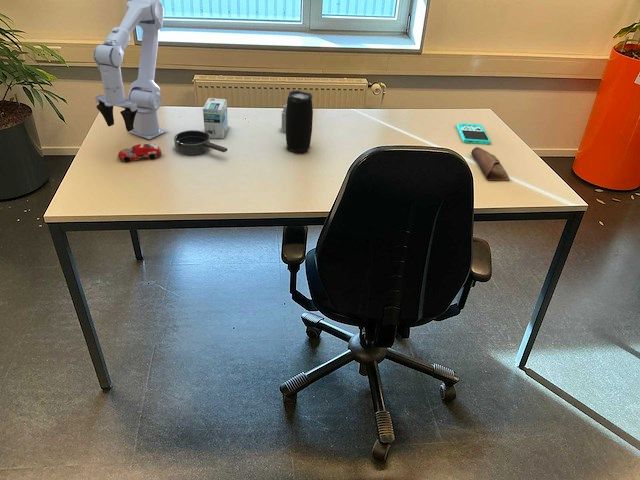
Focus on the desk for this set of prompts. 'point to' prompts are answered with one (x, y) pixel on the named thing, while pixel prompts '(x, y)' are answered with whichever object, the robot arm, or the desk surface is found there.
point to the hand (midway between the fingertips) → (120, 127)
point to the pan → (191, 142)
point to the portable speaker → (299, 121)
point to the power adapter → (284, 118)
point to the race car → (140, 152)
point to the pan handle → (215, 147)
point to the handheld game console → (473, 133)
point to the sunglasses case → (489, 165)
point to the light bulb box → (215, 117)
